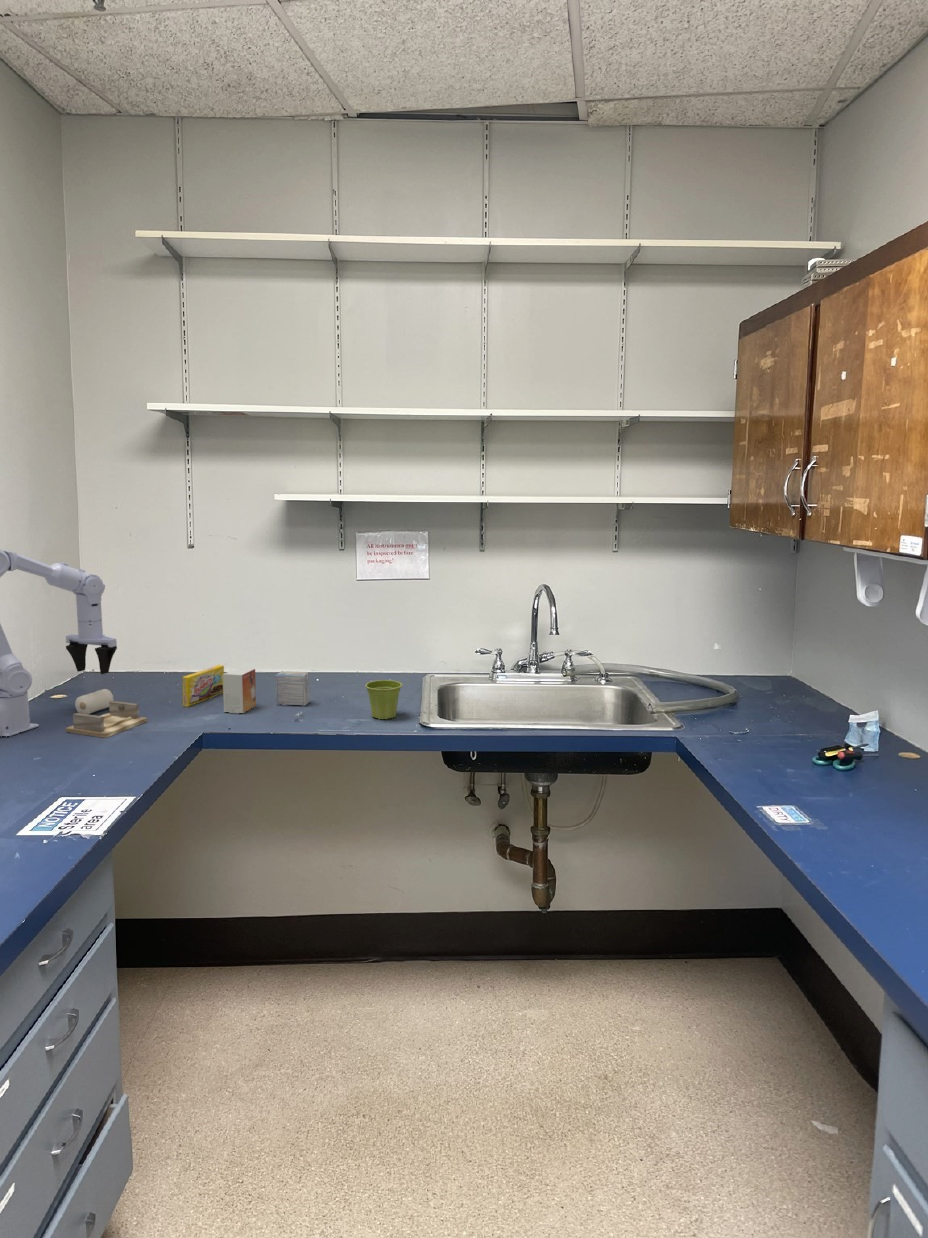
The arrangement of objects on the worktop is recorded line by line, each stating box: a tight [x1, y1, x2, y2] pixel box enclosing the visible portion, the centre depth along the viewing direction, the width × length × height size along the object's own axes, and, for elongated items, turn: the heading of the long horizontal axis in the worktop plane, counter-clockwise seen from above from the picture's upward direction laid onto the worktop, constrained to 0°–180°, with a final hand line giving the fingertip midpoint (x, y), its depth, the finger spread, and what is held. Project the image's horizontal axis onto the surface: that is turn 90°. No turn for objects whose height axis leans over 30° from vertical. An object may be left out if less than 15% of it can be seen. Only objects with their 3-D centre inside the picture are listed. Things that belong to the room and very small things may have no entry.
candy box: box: [182, 664, 225, 708], centre depth 225 cm, size 16×2×8 cm, turn 161°
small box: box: [222, 667, 257, 714], centre depth 215 cm, size 8×6×10 cm
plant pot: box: [365, 679, 403, 720], centre depth 211 cm, size 9×9×9 cm
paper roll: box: [74, 688, 114, 715], centre depth 213 cm, size 8×5×5 cm, turn 161°
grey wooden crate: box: [275, 670, 310, 706], centre depth 221 cm, size 8×4×9 cm, turn 84°
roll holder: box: [65, 700, 148, 739], centre depth 199 cm, size 14×12×4 cm
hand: (92, 672), depth 211 cm, fingers open, 7 cm apart
